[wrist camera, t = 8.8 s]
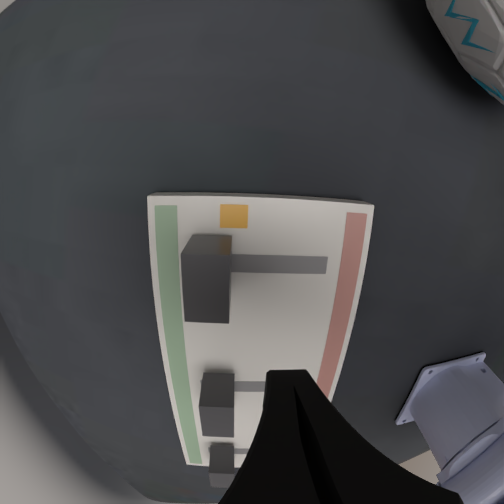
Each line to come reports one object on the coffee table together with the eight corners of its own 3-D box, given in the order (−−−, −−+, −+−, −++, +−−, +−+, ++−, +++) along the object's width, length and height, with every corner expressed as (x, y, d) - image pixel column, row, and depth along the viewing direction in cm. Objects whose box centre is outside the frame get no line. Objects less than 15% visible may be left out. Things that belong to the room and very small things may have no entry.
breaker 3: (234, 445, 20) (234, 474, 17) (234, 462, 21) (234, 487, 18) (210, 444, 20) (208, 472, 17) (212, 461, 21) (211, 487, 18)
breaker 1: (232, 235, 14) (230, 255, 11) (231, 293, 15) (229, 323, 12) (192, 234, 14) (180, 253, 11) (194, 292, 15) (184, 321, 12)
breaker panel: (363, 201, 16) (374, 205, 14) (305, 452, 24) (307, 464, 22) (155, 192, 15) (146, 195, 14) (188, 453, 23) (186, 464, 22)
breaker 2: (234, 373, 17) (234, 407, 14) (234, 405, 18) (234, 437, 15) (203, 372, 17) (198, 406, 14) (206, 403, 18) (202, 436, 15)
